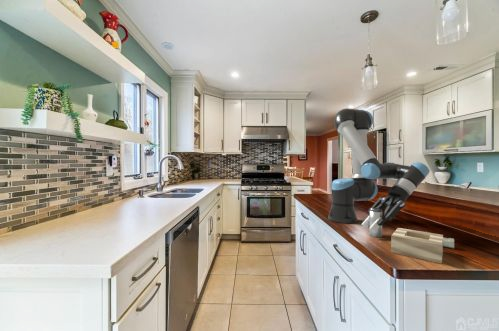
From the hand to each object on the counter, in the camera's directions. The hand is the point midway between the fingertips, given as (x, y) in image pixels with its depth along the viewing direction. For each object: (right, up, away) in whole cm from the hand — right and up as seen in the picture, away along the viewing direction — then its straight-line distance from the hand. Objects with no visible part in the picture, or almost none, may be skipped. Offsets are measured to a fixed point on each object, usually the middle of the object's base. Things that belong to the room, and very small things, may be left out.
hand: (368, 228), depth 101 cm
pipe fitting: (+23, -4, -11) cm, 26 cm away
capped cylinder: (+4, -4, +1) cm, 5 cm away
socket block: (+8, -4, -18) cm, 20 cm away
